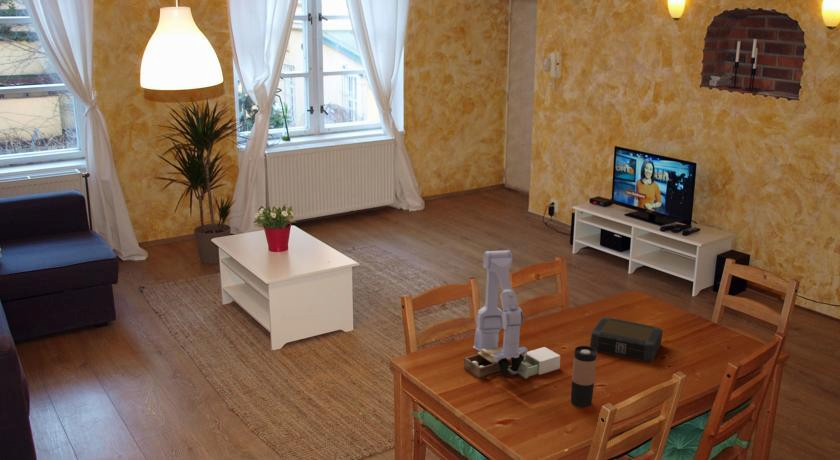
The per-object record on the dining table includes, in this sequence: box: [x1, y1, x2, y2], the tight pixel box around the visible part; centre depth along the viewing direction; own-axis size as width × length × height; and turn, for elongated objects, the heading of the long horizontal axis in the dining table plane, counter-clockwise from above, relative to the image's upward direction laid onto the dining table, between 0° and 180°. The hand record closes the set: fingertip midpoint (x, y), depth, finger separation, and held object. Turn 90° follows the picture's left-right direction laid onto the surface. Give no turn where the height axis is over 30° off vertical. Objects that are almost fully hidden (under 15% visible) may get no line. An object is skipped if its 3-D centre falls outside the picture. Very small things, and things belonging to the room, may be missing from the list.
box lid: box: [477, 345, 511, 364], centre depth 309 cm, size 10×12×2 cm
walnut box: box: [463, 353, 501, 379], centre depth 307 cm, size 10×12×5 cm
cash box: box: [589, 316, 663, 363], centre depth 329 cm, size 25×20×8 cm
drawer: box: [508, 357, 539, 379], centre depth 304 cm, size 9×15×6 cm, turn 123°
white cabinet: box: [523, 346, 561, 375], centre depth 308 cm, size 9×10×6 cm
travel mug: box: [570, 345, 598, 409], centre depth 283 cm, size 8×8×20 cm
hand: (509, 374), depth 300 cm, fingers open, 4 cm apart
